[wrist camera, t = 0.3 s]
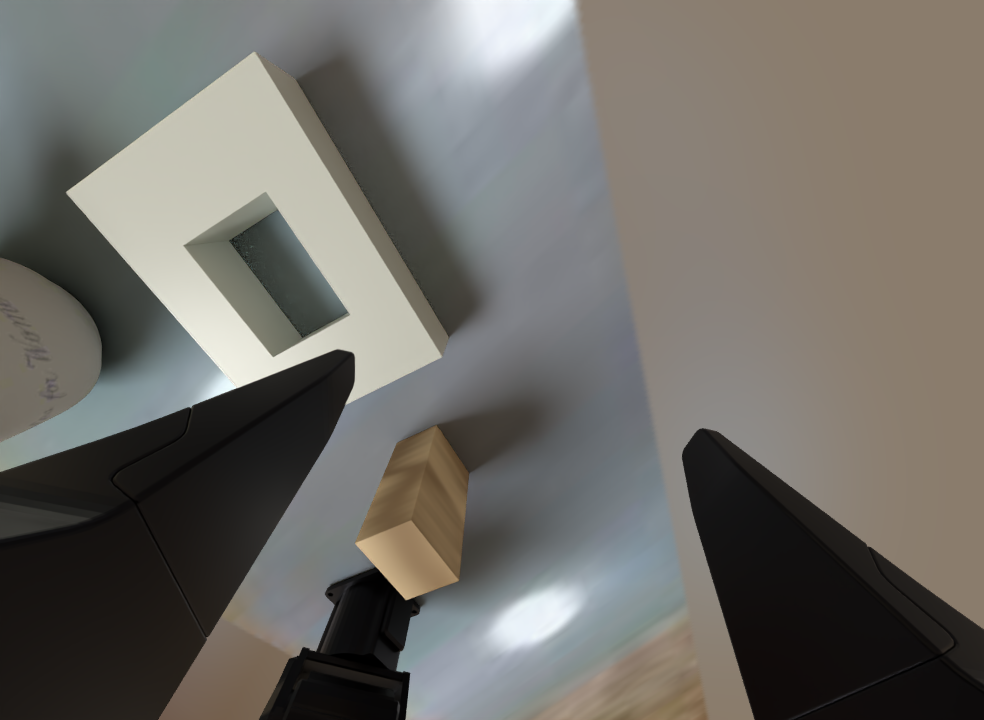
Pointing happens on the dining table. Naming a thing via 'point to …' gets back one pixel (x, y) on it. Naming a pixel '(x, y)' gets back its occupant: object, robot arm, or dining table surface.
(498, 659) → the dining table surface
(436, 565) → the wooden bar
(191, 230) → the well block
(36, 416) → the teacup
